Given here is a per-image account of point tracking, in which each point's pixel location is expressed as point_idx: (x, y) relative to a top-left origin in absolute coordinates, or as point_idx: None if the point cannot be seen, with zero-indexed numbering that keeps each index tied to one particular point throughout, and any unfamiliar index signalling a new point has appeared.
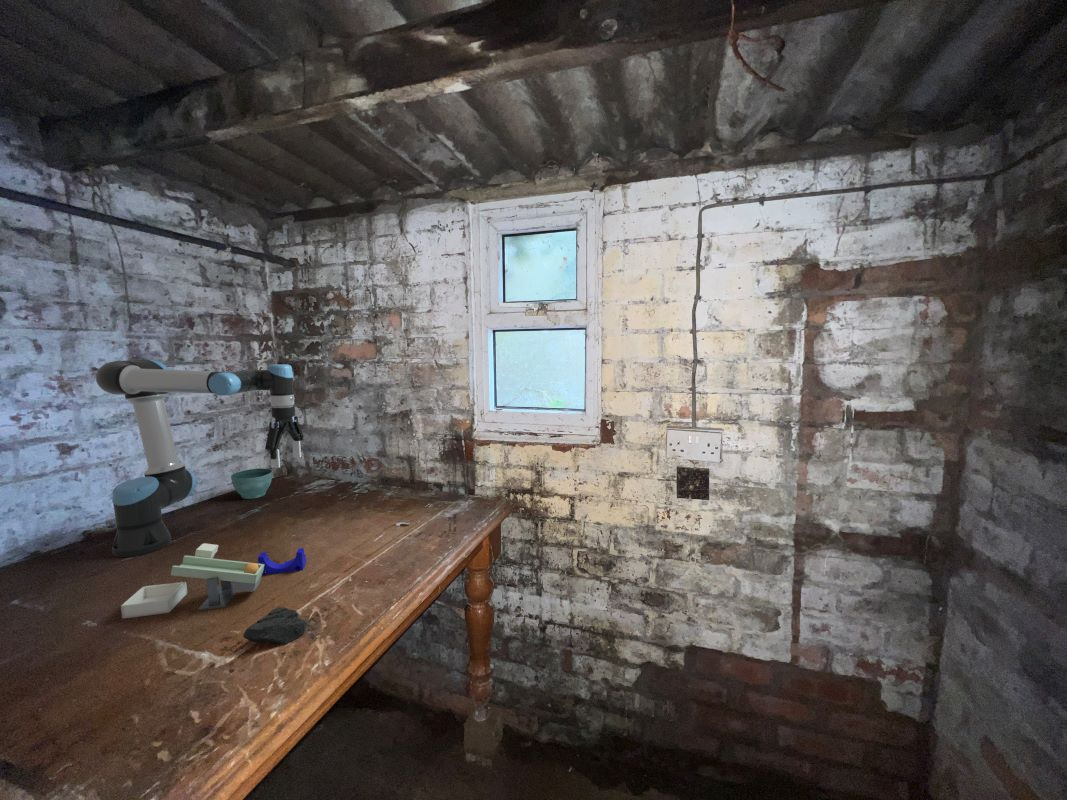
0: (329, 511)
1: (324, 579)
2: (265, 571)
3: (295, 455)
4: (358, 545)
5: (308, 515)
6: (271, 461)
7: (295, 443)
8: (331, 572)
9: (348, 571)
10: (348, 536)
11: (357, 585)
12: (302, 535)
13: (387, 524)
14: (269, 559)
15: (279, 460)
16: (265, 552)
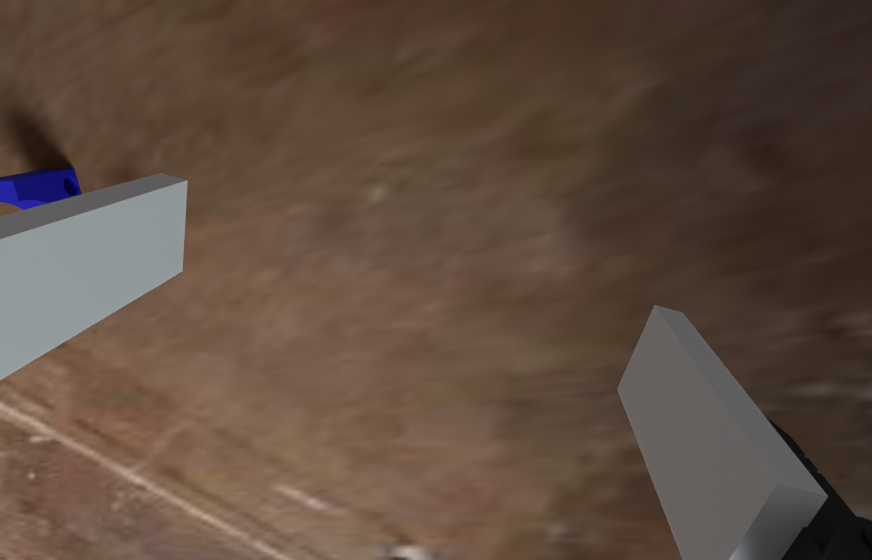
0: (653, 293)
1: (32, 375)
2: (66, 182)
3: (651, 352)
4: (247, 443)
5: (630, 198)
6: (100, 196)
7: (715, 505)
8: (71, 388)
9: (78, 430)
10: (327, 406)
11: (10, 457)
12: (368, 232)
13: (414, 521)
14: (47, 203)
15: (116, 305)
16: (16, 197)
